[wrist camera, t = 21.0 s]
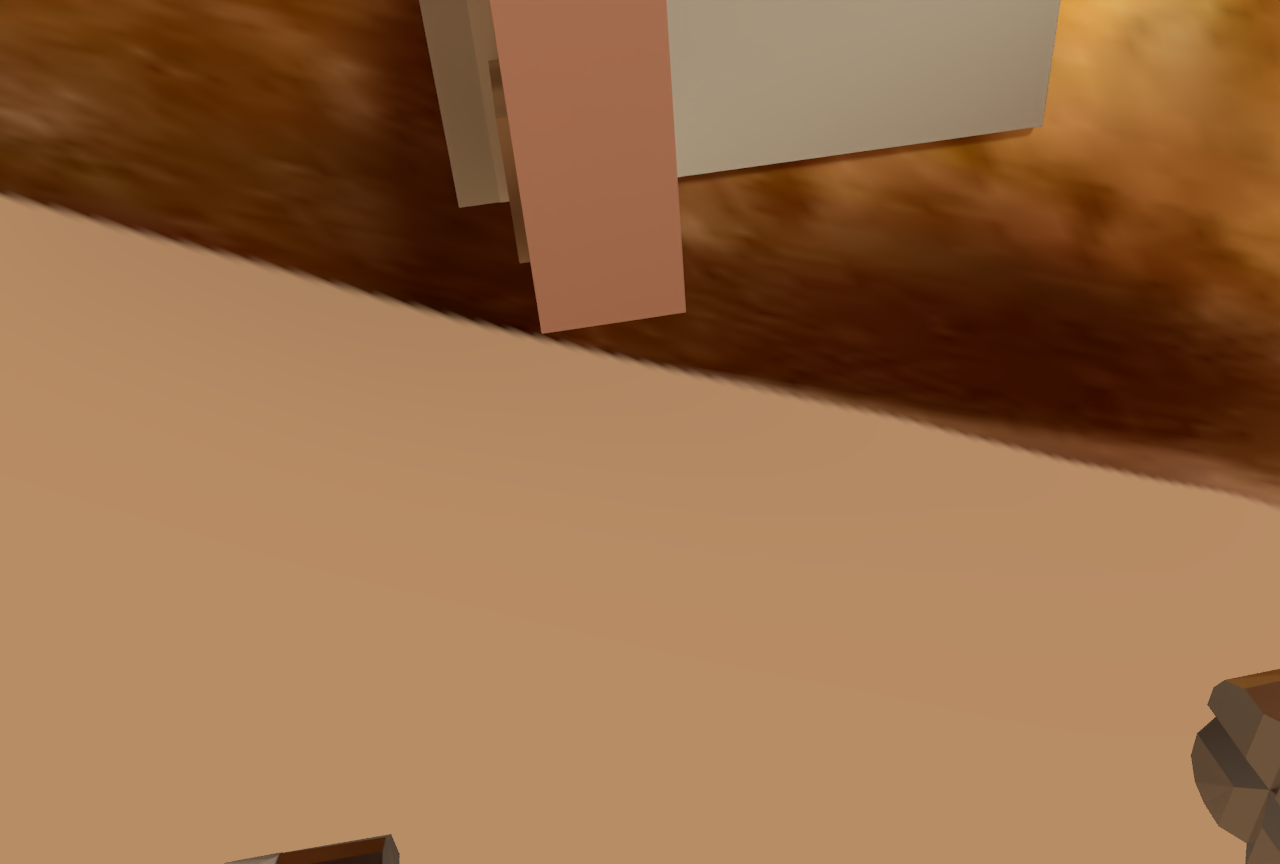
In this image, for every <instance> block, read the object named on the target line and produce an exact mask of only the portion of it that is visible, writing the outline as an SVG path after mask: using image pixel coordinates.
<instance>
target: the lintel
mask: <svg viewBox="0 0 1280 864" xmlns="http://www.w3.org/2000/svg"><path fill="white" fill-rule="evenodd" d="M489 1H490V8H491V14H492V20H493V27H494V33H495V40H496V46H497V52H498V59H499V65H500V72H501V78H502V84H503V91H504V97H505V104H506V110H507V116H508V123H509V129H510V136H511V142H512V148H513V155H514V161H515V168H516V174H517V180H518V187H519V193H520V200H521V206H522V212H523V219H524V225H525V232H526V238H527V244H528V251H529V257H530V264H531V270H532V276H533V282H534V289H535V295H536V301H537V307H538V314H539V320H540V326H541V333H542V334H544V333H550V332H557V331H564V330H570V329H577V328H584V327H590V326H597V325H604V324H611V323H617V322H624V321H631V320H637V319H644V318H651V317H657V316H664V315H671V314H677V313H684V312H686V305H685V289H684V273H683V257H682V241H681V225H680V209H679V194H678V178H677V162H676V146H675V130H674V114H673V98H672V82H671V67H670V51H669V35H668V19H667V3H666V0H489Z"/></svg>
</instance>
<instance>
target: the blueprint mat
mask: <svg viewBox="0 0 1280 864" xmlns="http://www.w3.org/2000/svg"><path fill="white" fill-rule="evenodd" d="M419 3H420V8H421V13H422V19H423V24H424V29H425V34H426V39H427V44H428V50H429V55H430V60H431V65H432V70H433V76H434V81H435V86H436V91H437V96H438V101H439V107H440V112H441V117H442V122H443V127H444V133H445V138H446V143H447V148H448V153H449V158H450V164H451V169H452V174H453V179H454V184H455V189H456V195H457V200H458V205H459V208H461V207H468V206H476V205H483V204H490V203H497V202H500V203H502V202H509V196H508V189H507V183H506V177H505V171H504V165H503V159H502V152H501V146H500V140H499V134H498V128H497V122H496V115H495V108H494V100H493V93H492V86H491V79H490V71H489V64H488V61H491V60H499V59H498V52H497V46H496V40H495V33H494V27H493V20H492V14H491V8H490V1H489V0H419ZM666 3H667V19H668V35H669V51H670V67H671V82H672V98H673V114H674V130H675V146H676V162H677V177H683V176H690V175H697V174H705V173H712V172H719V171H726V170H733V169H740V168H747V167H755V166H762V165H769V164H776V163H783V162H790V161H798V160H805V159H812V158H819V157H826V156H833V155H841V154H848V153H855V152H862V151H869V150H876V149H883V148H891V147H898V146H905V145H912V144H919V143H926V142H934V141H941V140H948V139H955V138H962V137H969V136H976V135H984V134H991V133H998V132H1005V131H1012V130H1019V129H1027V128H1034V127H1041V126H1042V124H1043V117H1044V110H1045V104H1046V97H1047V90H1048V83H1049V76H1050V69H1051V62H1052V55H1053V48H1054V41H1055V35H1056V28H1057V21H1058V14H1059V7H1060V0H666Z"/></svg>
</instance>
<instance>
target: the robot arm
mask: <svg viewBox="0 0 1280 864" xmlns="http://www.w3.org/2000/svg"><path fill="white" fill-rule="evenodd" d="M1208 706H1209V707H1210V709H1211V710H1212V712H1213V713H1214V714H1215V716H1216V717H1215V718H1214V719H1213V720H1212V721H1211V722H1210V723H1209V724H1207V725H1206V726H1205V727H1204V728H1203V729H1202V730H1201V731H1199V732H1198V733H1197V736H1196V739H1195V743H1194V747H1193V751H1192V754H1191V758H1192V765H1193V771H1194V778H1195V782H1196V785H1197V787H1198V790H1199V792H1200V795H1201V797H1202V799H1203V802H1204V803H1205V805H1206V807H1207V808H1208V810H1209V812H1210V813H1211V814H1212V816H1213V818H1214V819H1215V821H1216V823H1217V824H1218V826H1220V827H1221V828H1223V829H1224V830H1226V831H1228V832H1229V833H1231V834H1233V835H1234V836H1236V837H1237V838H1239V839H1241V840H1242V841H1244V842H1246V843H1247V849H1246V864H1280V669H1277V670H1272V671H1267V672H1262V673H1257V674H1252V675H1247V676H1242V677H1237V678H1232V679H1227V680H1224V681H1223V682H1221V683H1220V684H1218V685H1217V686H1215V687H1214V688H1213V691H1212V694H1211V697H1210V699H1209V702H1208ZM225 864H399V852H398V850H397V847H396V845H395V842H394V841H393V838H392V835H391V834H390V835H384V836H379V837H372V838H367V839H361V840H355V841H349V842H343V843H338V844H332V845H326V846H321V847H314V848H309V849H303V850H297V851H292V852H285V853H282V852H281V853H276V854H270V855H265V856H260V857H255V858H250V859H244V860H238V861H233V862H227V863H225Z"/></svg>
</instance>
